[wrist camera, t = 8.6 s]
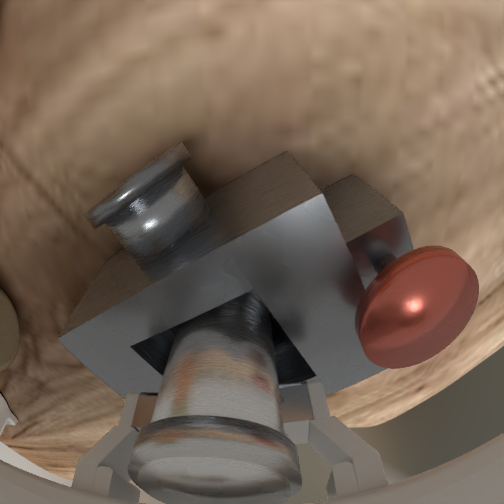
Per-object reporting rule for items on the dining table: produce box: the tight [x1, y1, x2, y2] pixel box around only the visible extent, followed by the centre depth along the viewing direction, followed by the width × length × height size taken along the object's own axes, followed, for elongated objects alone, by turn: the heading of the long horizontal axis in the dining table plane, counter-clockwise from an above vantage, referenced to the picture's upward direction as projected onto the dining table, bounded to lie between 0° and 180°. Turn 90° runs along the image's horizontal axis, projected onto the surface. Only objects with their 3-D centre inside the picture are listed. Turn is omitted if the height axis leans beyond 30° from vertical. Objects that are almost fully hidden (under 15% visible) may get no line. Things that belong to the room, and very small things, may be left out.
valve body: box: [57, 142, 388, 399], centre depth 15 cm, size 12×15×7 cm
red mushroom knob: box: [321, 174, 479, 369], centre depth 12 cm, size 4×4×9 cm
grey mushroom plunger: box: [128, 289, 302, 504], centre depth 11 cm, size 5×5×10 cm
